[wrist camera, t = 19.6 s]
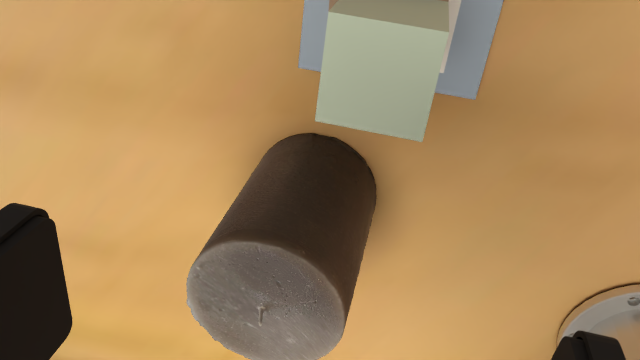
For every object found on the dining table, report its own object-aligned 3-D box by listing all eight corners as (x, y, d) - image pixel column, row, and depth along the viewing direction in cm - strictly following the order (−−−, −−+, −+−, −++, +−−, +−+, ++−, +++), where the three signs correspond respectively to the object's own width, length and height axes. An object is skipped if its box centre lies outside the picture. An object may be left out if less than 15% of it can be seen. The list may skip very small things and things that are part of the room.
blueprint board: (520, -68, 31) (522, -66, 30) (474, 94, 36) (475, 100, 35) (317, -97, 32) (313, -96, 31) (301, 63, 37) (297, 68, 36)
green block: (448, 1, 26) (449, 32, 21) (426, 95, 29) (422, 142, 24) (350, -15, 27) (328, 11, 22) (337, 78, 30) (315, 121, 25)
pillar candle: (349, 116, 38) (297, 237, 26) (394, 225, 42) (368, 376, 29) (236, 152, 42) (141, 273, 29) (287, 249, 46) (222, 393, 33)
